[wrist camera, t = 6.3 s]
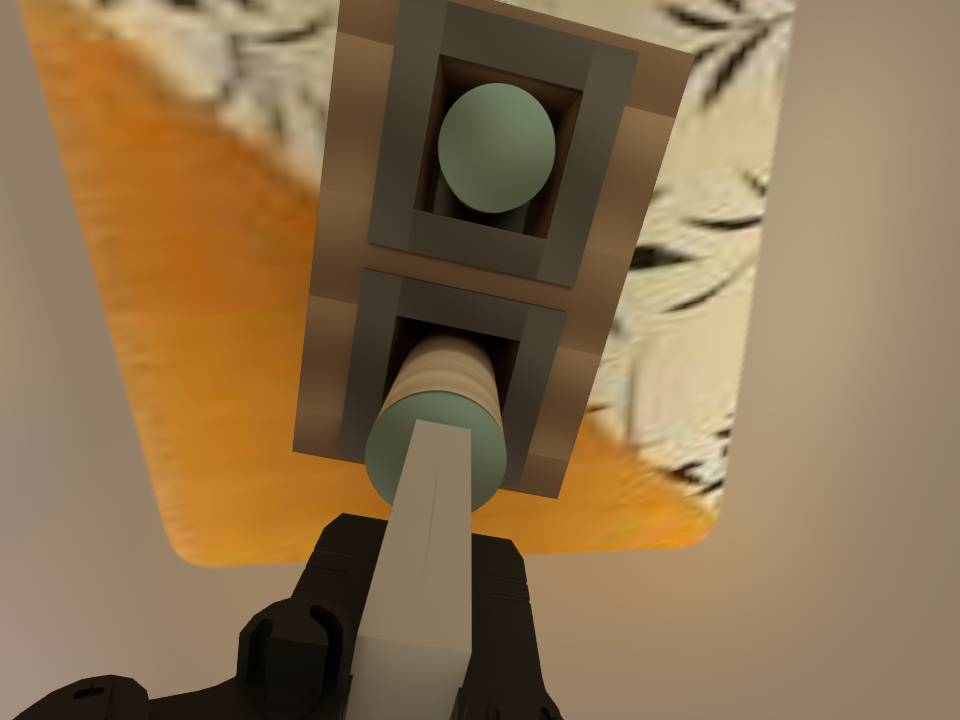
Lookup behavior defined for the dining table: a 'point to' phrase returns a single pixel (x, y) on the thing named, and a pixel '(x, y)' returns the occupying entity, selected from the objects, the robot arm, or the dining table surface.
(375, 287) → the socket block
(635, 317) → the dining table surface
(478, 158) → the peg
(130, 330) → the dining table surface
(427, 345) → the peg
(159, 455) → the dining table surface
